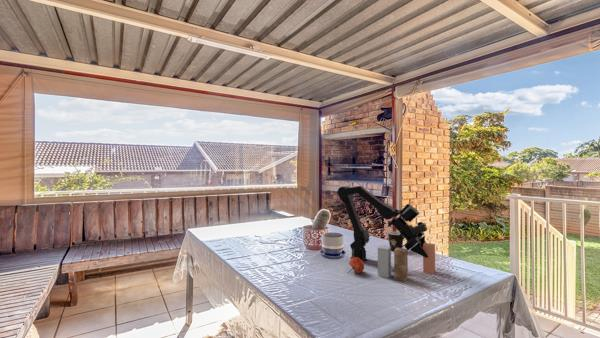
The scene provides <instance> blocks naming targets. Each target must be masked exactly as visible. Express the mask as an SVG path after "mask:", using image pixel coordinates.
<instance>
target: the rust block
mask: <svg viewBox="0 0 600 338" xmlns="http://www.w3.org/2000/svg"><path fill="white" fill-rule="evenodd" d="M423 249H424V251H425V252H426V253H427V255H428V257H427V258H426V257H424V256H422V270H423V271H422V273H425V274H432V275H435V272H436V244H435V243H430V242H426V243H424V244H423Z"/></svg>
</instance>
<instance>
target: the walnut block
mask: <svg viewBox="0 0 600 338" xmlns="http://www.w3.org/2000/svg"><path fill="white" fill-rule="evenodd" d="M393 256H394V257H393V258H394V259H393V260H394V263H393V264H394V267H393V268H394V271H393V272H394V273H393V274H394V275H393V276H394V280H395V281H400V282H401V281H402V282H406V281H407V280H408V278H409V277H408V276H409V274H408V272H409V271H408V262H409V261H408V250H407V249H406V248H405V247H402V248H396V249H395V250H394V252H393Z"/></svg>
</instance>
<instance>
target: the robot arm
mask: <svg viewBox="0 0 600 338" xmlns="http://www.w3.org/2000/svg"><path fill="white" fill-rule="evenodd" d="M354 195H359V196H360V197H361V198H363V200H365V201H366V202H367V203H369V204H370V205H371V206H373V207H374V208H375V209H376V211H377V212H378V214H380V216H381V217H382V218H383V219H385V220H388V221H387V227H388V228H390V227H392V226H393V228H395V229H396V231H397V232H400V235H401V236H403V237H404V240H406V242H405V244H404V245H405V246H404V249H407V251H409V252H413V253H414V254H418V255H419V256H421V257H423V256H424V257H426V258H427V257H428V255H427V253H426V252H425V251H424V249H423V244H424V243H427V242H426V239H425V238H426V235H425V232H427V230H428V227H427V224H425V222H423V221H419V222H417V225H415V226H413V225H412V224H408V222H412V221H413V220H414V219H416V218H417V217H418V216H419V215H420V212H419V211H418V209H416V208H415V207H414V206H412V205H410V203H407V204H406V205H405V206H404V207H403V208H402V209H396V208H395V207H394V206H391V205H390V204H388V203H385V202H383V201H381V199H379V198H378V197H376V196H375V195H374V194H372V193H371V192H370V191H368V190H367V189H366V188H365V186H362V185H358V186H352V187H350V186H348V185H345V186H339V188H338V189H337V196H338V197H339V199H340V201H341V202H342V203H343V204H344V207H345V209H346V212H347V214H348V215H347V216H348V218H349V221H350V224H351V227H352V228H353V240H354V241H353V242H352V243H350V244H349V246H350V248H351V256H350V260H351V259H352V258H353V257H357V258H360V259H363V258H364V260H363V262H366V261H368V259H367V250H366V245H367V244H369V242H370V233H369V232H368V229H367V228H364V227H363V226H362V223H361V221H360V217H359V215H358V213H357V208H356V207H355V204H354V201H353V199H354V198H353V197H354Z"/></svg>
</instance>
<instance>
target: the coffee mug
mask: <svg viewBox="0 0 600 338" xmlns="http://www.w3.org/2000/svg"><path fill="white" fill-rule="evenodd" d="M387 237H388V244H389V245H388V246H389V247H391V252H392V251H393V253H394V250H395V249H396V248H404V247H405V244H404V243H403V242H404V241H405V238H404V237H403V236H401V235H400V231H389V232H387Z"/></svg>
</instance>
